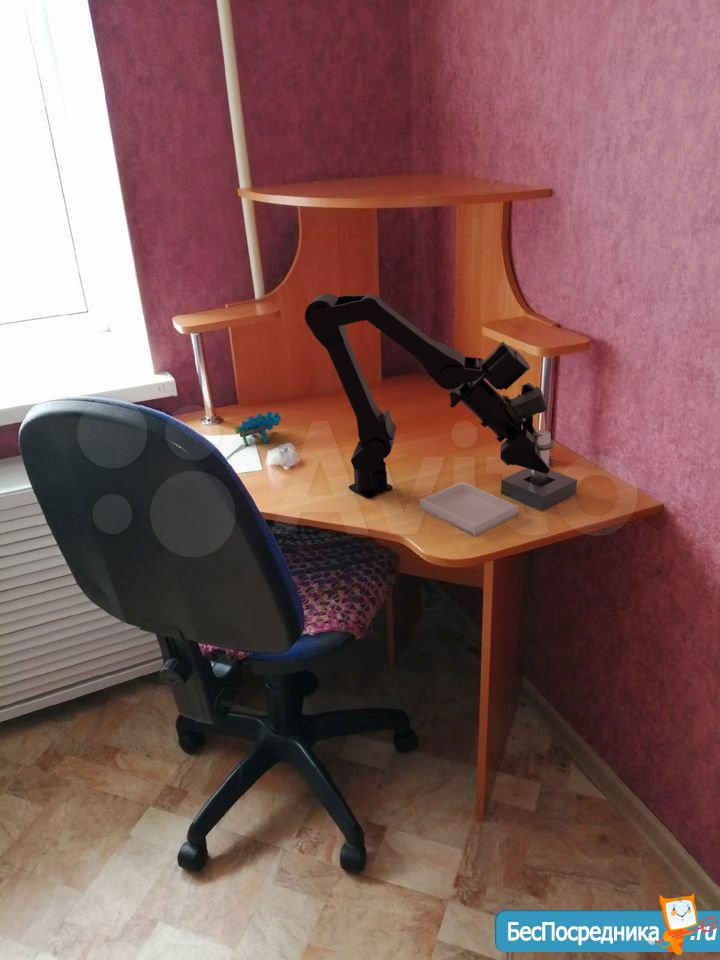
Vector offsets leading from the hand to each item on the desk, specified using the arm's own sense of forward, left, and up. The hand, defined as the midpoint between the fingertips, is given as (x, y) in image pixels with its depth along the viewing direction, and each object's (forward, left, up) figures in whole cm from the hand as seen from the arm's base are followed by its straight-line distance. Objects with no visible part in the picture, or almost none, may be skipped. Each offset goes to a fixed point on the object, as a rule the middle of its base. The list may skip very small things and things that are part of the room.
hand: (546, 461), depth 141 cm
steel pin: (-1, -1, -7) cm, 7 cm away
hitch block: (-1, -1, -7) cm, 7 cm away
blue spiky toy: (-64, -25, -7) cm, 69 cm away
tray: (-5, -16, -7) cm, 18 cm away
